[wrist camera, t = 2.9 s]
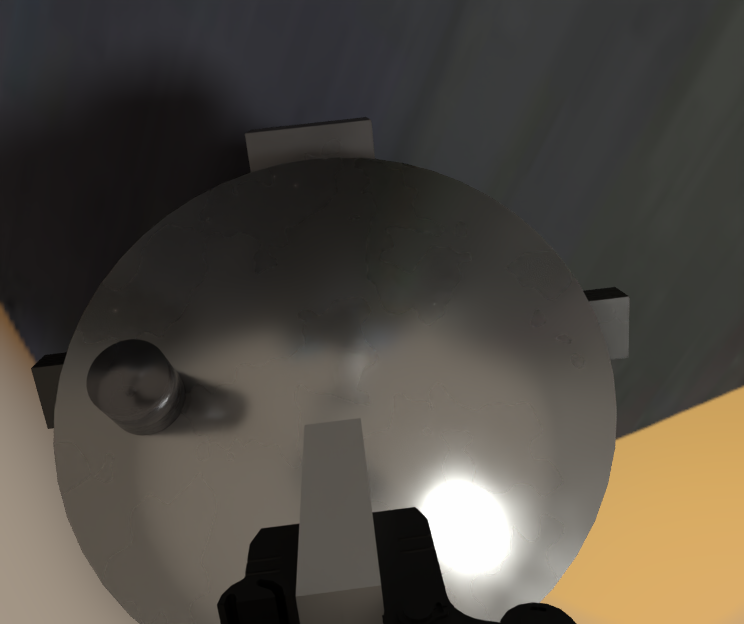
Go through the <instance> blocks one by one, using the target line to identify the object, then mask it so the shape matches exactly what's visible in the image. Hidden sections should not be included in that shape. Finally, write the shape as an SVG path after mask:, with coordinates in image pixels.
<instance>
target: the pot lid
mask: <svg viewBox="0 0 744 624" xmlns="http://www.w3.org/2000/svg"><path fill="white" fill-rule="evenodd" d="M356 418H361V424H362V433H363V441H364V449H365V457H366V465H367V474H368V482H369V490H370V498H371V506H372V512H379V511H387V510H394V509H402V508H410V507H416V508H417V509H418V510H419V511H420V512H421V513H422V514H423V515H424V516H425V517H426V518H427V519H428V522H429V526H430V530H431V534H432V538H433V542H434V546H435V550H436V554H437V557H438V561H439V565H440V569H441V573H442V577H443V581H444V585H445V589H446V593H447V596H448V598H449V600H450V602H451V603H452V604H453V606H454V607H455V608H456V609H458V610H459V611H461V612H462V613H463V614H465V615H468V616H470V617H473V618H476V619H481V620H486V621H494V622H500V620H501V618H502V617H503V616H504V615H505V613H506V612H507V611H508V610H510V609H511V608H513V607H515V606H517V605H519V604H525V603H531V602H535V603H539V602H540V601H541V600H542V599H543V598H544V597H545V596H546V595H547V594H548V593H549V592H550V591H551V590H552V589H553V588H554V586H555V585H556V584H557V582H558V581H559V579H560V578H561V577H562V575H563V574H564V573H565V571H566V570H567V568H568V567H569V566H570V564H571V563H572V561H573V560H574V558H575V557H576V556H577V554H578V552H579V550H580V548H581V547H582V545H583V542H584V541H585V539H586V537H587V535H588V533H589V531H590V529H591V527H592V526H593V524H594V522H595V519H596V516H597V514H598V511H599V508H600V505H601V502H602V499H603V497H604V494H605V491H606V488H607V485H608V481H609V476H610V471H611V466H612V460H613V455H614V450H615V438H616V418H617V408H616V397H615V385H614V376H613V371H612V367H611V363H610V358H609V354H608V350H607V345H606V342H605V339H604V337H603V334H602V331H601V329H600V326H599V323H598V321H597V318H596V315H595V313H594V311H593V309H592V307H591V305H590V303H589V301H588V299H587V298H586V296H585V294H584V292H583V290H582V288H581V286H580V285H579V283H578V281H577V280H576V279H575V277H574V276H573V274H572V273H571V272H570V270H569V269H568V267H567V266H566V265H565V263H564V262H563V260H562V259H561V258H560V256H559V255H558V254H557V253H556V252H555V251H554V250H553V249H552V248H551V247H550V246H549V244H548V243H547V242H546V241H545V240H544V239H543V238H542V237H541V236H540V235H539V234H538V233H537V232H536V231H535V230H534V229H533V228H531V227H530V226H529V225H528V224H527V223H525V222H524V221H523V220H522V219H521V218H520V217H518V216H517V215H516V214H515V213H514V212H512V211H511V210H509V209H508V208H506V207H505V206H503V205H502V204H500V203H499V202H497V201H496V200H494V199H493V198H491V197H490V196H488V195H486V194H484V193H482V192H480V191H478V190H476V189H474V188H472V187H470V186H468V185H466V184H464V183H463V182H460V181H458V180H455V179H452V178H450V177H447V176H445V175H442V174H439V173H437V172H434V171H431V170H427V169H423V168H419V167H416V166H412V165H408V164H404V163H398V162H392V161H385V160H378V159H370V158H347V157H338V158H321V159H309V160H303V161H297V162H291V163H284V164H279V165H276V166H272V167H268V168H265V169H261V170H257V171H254V172H250V173H248V174H245V175H243V176H240V177H237V178H235V179H232V180H230V181H227V182H224V183H222V184H220V185H218V186H216V187H214V188H212V189H210V190H208V191H206V192H204V193H202V194H200V195H198V196H196V197H195V198H193V199H191V200H190V201H188V202H187V203H185V204H184V205H182V206H181V207H179V208H178V209H176V210H175V211H173V212H172V213H170V214H168V215H167V216H166V217H165V218H163V219H162V220H161V221H160V222H159V223H157V224H156V225H155V226H154V227H152V228H151V229H150V230H149V231H148V232H146V233H145V234H144V235H143V236H142V237H141V238H140V239H139V240H138V241H137V242H136V243H135V244H134V245H133V246H132V247H131V248H130V249H129V250H128V251H127V252H126V253H125V254H124V255H123V256H122V257H121V258H120V260H119V261H118V262H117V263H116V265H115V266H114V267H113V269H112V270H111V271H110V273H109V274H108V275H107V276H106V278H105V279H104V280H103V282H102V283H101V284H100V286H99V287H98V289H97V291H96V292H95V294H94V296H93V297H92V299H91V301H90V302H89V304H88V306H87V307H86V309H85V311H84V313H83V315H82V317H81V319H80V321H79V324H78V326H77V328H76V330H75V333H74V335H73V337H72V339H71V342H70V344H69V347H68V351H67V354H66V357H65V361H64V364H63V368H62V371H61V374H60V379H59V385H58V391H57V397H56V404H55V410H54V454H55V462H56V471H57V479H58V484H59V488H60V492H61V496H62V499H63V503H64V507H65V510H66V514H67V518H68V520H69V522H70V525H71V526H72V529H73V531H74V533H75V536H76V538H77V541H78V543H79V545H80V547H81V550H82V552H83V553H84V555H85V557H86V558H87V560H88V561H89V563H90V565H91V566H92V568H93V569H94V571H95V572H96V574H97V576H98V577H99V579H100V581H101V582H102V584H103V585H104V586H105V587H106V589H107V590H108V591H109V592H110V593H111V594H112V595H113V597H114V598H115V599H116V600H117V601H118V602H119V604H120V605H121V606H122V607H123V608H124V609H125V610H126V611H127V613H128V614H129V615H130V616H131V617H132V618H134V619H135V620H136V621H137V622H138V623H140V624H221V623H220V618H219V613H218V609H217V603H218V601H219V599H220V597H221V595H222V594H223V593H224V592H225V591H226V590H227V589H228V588H229V587H230V586H231V585H233V584H235V583H237V582H238V581H240V580H242V579H244V577H245V570H246V564H247V558H248V552H249V545H250V543H251V541H252V540H253V539H254V537H255V536H256V535H257V533H258V532H259V531H260V529H261V528H268V527H276V526H283V525H291V524H299V522H300V503H301V484H302V464H303V445H304V426H305V425H308V424H316V423H324V422H332V421H340V420H348V419H356Z"/></svg>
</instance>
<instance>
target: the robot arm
mask: <svg viewBox="0 0 744 624" xmlns="http://www.w3.org/2000/svg"><path fill="white" fill-rule="evenodd" d="M217 609H218V613H219V618H220V623H221V624H576V623H575V622H574V621H573V619H572V618H571V617H569V616H568V615H567V614H566V613H565V612H563V611H562V610H561V609H559V608H556V607H554V606H551V605H549V604H543V603H535V602H531V603H525V604H519V605H517V606H515V607H513V608H511V609H510V610H508V611H507V612H506V613H505V615H504V616H503V617H502V618H501V620H500V622H494V621H486V620H481V619H476V618H473V617H470V616H468V615H465V614H463V613H462V612H461V611H459V610H458V609H456V608H455V607H454V606H453V604H452V603H451V602H450V600H449V598H448V596H447V593H446V589H445V585H444V581H443V577H442V573H441V569H440V565H439V561H438V557H437V554H436V550H435V546H434V542H433V538H432V534H431V530H430V526H429V522H428V519H427V518H426V517H425V516H424V515H423V514H422V513H421V512H420V511H419V510H418V509H417V508H416V507H410V508H402V509H394V510H387V511H379V512H372V506H371V498H370V490H369V482H368V474H367V465H366V457H365V449H364V441H363V433H362V424H361V418H356V419H348V420H340V421H332V422H324V423H316V424H308V425H305V426H304V445H303V464H302V484H301V503H300V522H299V524H291V525H283V526H276V527H268V528H261V529H260V531H259V532H258V533H257V535H256V536H255V537H254V539H253V540H252V541H251V543H250V545H249V552H248V558H247V564H246V570H245V577H244V579H242V580H240V581H238V582H237V583H235V584H233V585H231V586H230V587H229V588H228V589H227V590H226V591H225V592H224V593H223V594H222V595H221V597H220V599H219V601H218V603H217Z"/></svg>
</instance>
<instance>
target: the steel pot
mask: <svg viewBox="0 0 744 624" xmlns="http://www.w3.org/2000/svg"><path fill="white" fill-rule="evenodd" d="M245 138H246V145H247V151H248V158H249V164H250V170H251V172H254V171H257V170H261V169H265V168H268V167H272V166H276V165H279V164H284V163H291V162H297V161H303V160H309V159H321V158H338V157H347V158H370V159H376V158H375V155H374V145H373V134H372V124H371V120H370V119H369V118H367V117H363V118H354V119H344V120H335V121H326V122H317V123H308V124H299V125H289V126H280V127H271V128H262V129H253V130H250V131H249V132H247V133H245ZM378 160H379V159H378ZM583 292H584V294H585V296H586V298H587V299H588V301H589V303H590V305H591V307H592V309H593V311H594V313H595V315H596V318H597V321H598V323H599V326H600V329H601V331H602V334H603V337H604V339H605V342H606V345H607V350H608V354H609V358H610V360H611V359H620V358H628V346H629V296H628V295H626V294H625V293H623V292H622V291H620V290H619V289H617V288H616V287H611V288H603V289H595V290H586V291H583ZM66 354H67V353H58V354H50V355H44V356H43V357H42V358H41V359H40V360H39V361H38V362H37V363H36V364H35V365H34V366H33V367H32V368H31V369H32V373H33V377H34V381H35V384H36V388H37V391H38V395H39V398H40V402H41V406H42V409H43V413H44V416H45V420H46V424H47V427H48V429H50V428H54V410H55V404H56V397H57V391H58V385H59V379H60V374H61V371H62V368H63V364H64V361H65V357H66Z"/></svg>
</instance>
